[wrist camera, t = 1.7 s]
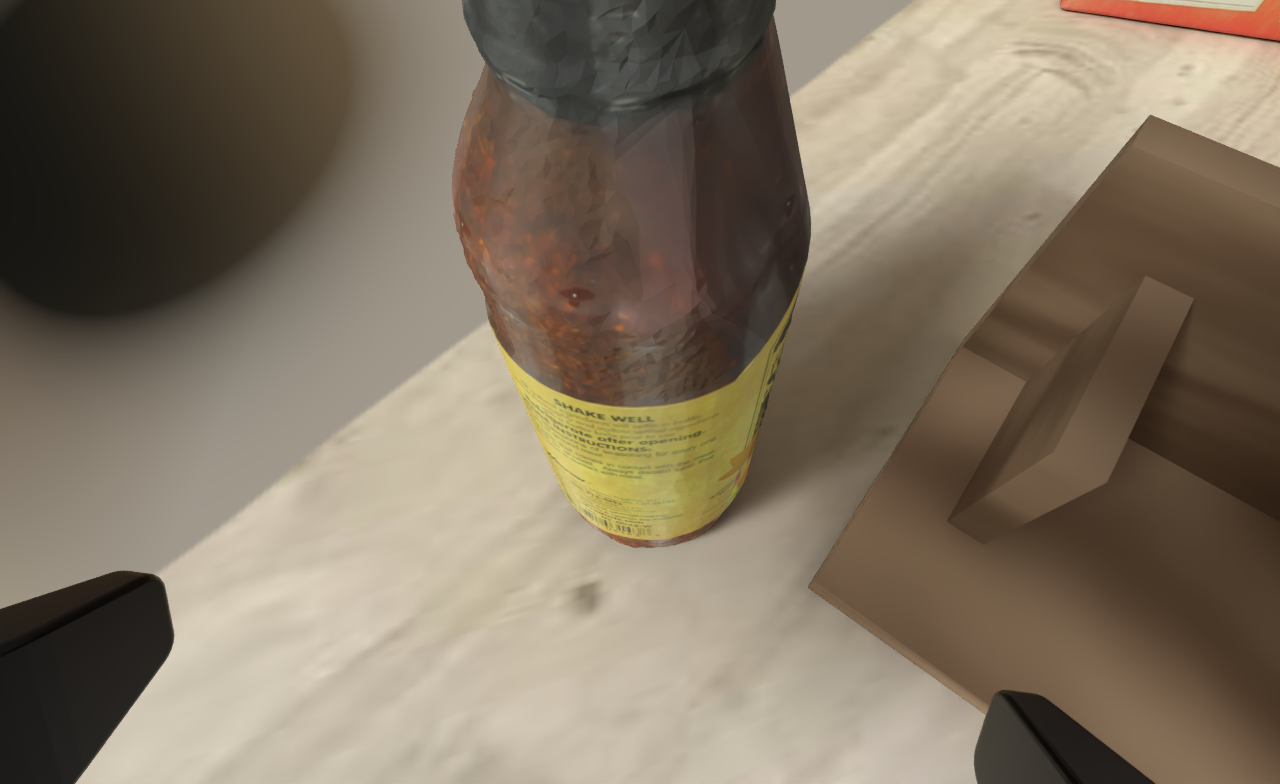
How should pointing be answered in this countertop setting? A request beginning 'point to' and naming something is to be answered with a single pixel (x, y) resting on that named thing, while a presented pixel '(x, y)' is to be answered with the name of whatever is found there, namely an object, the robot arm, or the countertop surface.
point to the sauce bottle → (635, 242)
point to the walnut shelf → (1105, 476)
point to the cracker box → (1193, 14)
